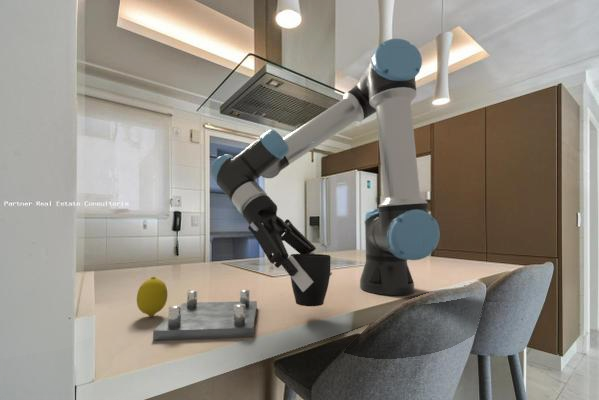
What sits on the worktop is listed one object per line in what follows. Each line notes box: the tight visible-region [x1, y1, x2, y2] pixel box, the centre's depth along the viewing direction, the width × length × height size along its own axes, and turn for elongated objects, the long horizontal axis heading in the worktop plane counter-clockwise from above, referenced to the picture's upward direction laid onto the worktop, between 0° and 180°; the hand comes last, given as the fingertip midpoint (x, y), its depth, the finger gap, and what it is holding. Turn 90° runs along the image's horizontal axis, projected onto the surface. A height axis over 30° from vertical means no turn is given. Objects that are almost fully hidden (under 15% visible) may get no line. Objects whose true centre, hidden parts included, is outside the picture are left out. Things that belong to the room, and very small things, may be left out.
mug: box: [289, 253, 331, 307], centre depth 58 cm, size 8×12×10 cm
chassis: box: [152, 288, 258, 341], centre depth 54 cm, size 16×16×4 cm
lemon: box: [136, 276, 168, 318], centre depth 57 cm, size 6×6×8 cm
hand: (318, 282), depth 56 cm, fingers closed on mug, 9 cm apart
